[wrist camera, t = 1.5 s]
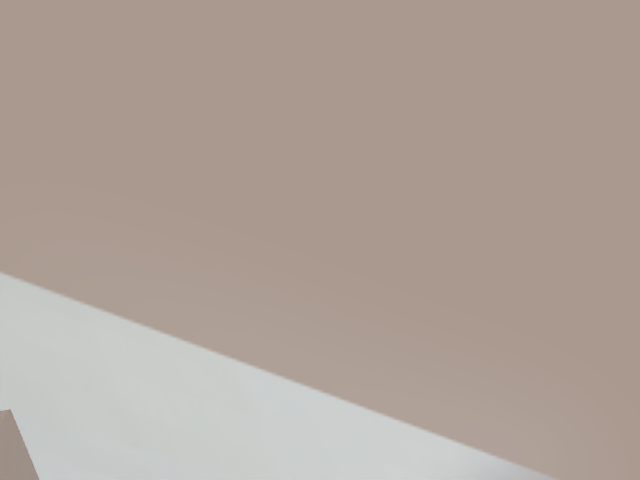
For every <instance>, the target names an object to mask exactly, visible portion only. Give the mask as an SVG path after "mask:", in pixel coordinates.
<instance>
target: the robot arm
mask: <svg viewBox="0 0 640 480" xmlns="http://www.w3.org/2000/svg"><path fill="white" fill-rule="evenodd" d="M0 480H39V477H38V475H37V473H36V470H35V468H34V465H33V463H32V460H31V458H30V456H29V453H28V451H27V448H26V446H25V443H24V441H23V438H22V436H21V434H20V431H19V429H18V426H17V424H16V421H15V419H14V417H13V414H12V412H11V409H10V410H5V411H0Z"/></svg>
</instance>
